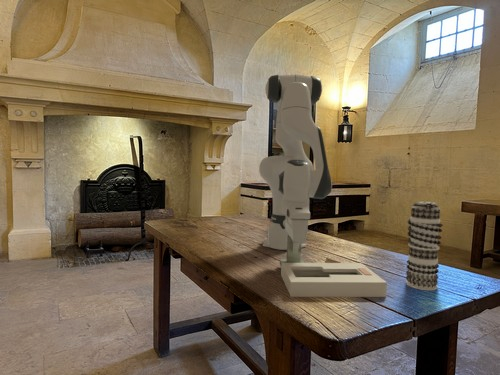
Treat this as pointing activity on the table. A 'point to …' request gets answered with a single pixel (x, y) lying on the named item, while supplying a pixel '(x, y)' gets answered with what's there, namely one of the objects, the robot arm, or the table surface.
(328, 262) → the shard
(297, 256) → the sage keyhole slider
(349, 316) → the table surface
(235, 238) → the table surface
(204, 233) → the table surface
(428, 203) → the decorative candle
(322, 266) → the keyhole plate
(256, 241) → the table surface
